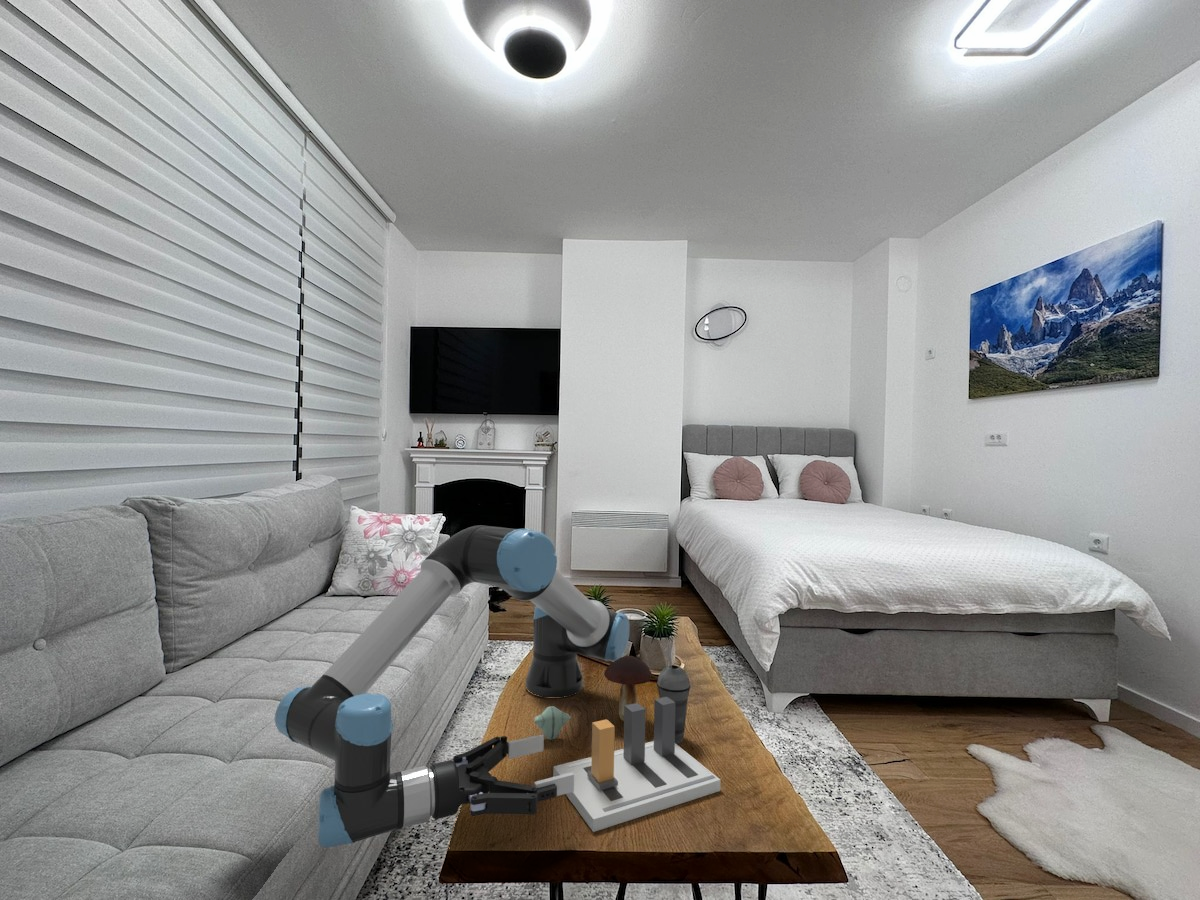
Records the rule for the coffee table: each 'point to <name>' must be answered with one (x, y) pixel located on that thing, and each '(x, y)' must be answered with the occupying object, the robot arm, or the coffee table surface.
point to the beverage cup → (675, 693)
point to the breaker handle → (602, 755)
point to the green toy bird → (551, 721)
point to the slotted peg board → (640, 773)
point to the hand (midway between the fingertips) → (557, 760)
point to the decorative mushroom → (628, 678)
